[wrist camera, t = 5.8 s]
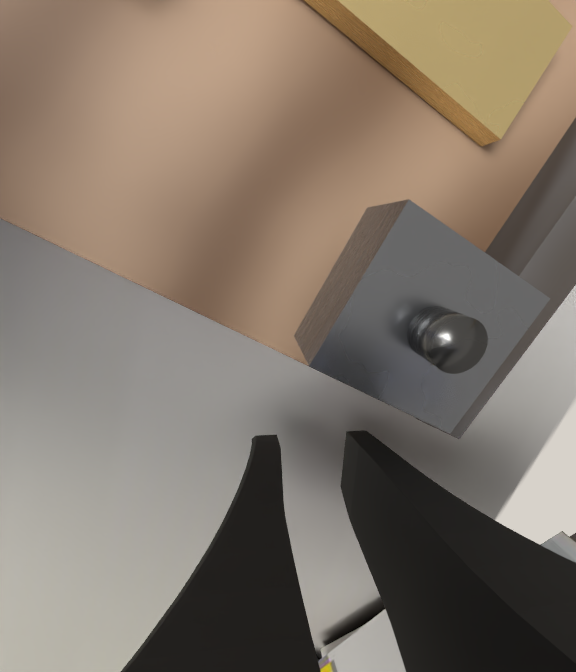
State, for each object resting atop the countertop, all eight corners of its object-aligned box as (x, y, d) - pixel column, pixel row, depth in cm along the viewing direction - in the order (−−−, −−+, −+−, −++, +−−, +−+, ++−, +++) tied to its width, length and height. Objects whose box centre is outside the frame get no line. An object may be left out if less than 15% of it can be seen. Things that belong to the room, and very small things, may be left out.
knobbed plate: (293, 335, 9) (318, 386, 6) (367, 207, 9) (437, 193, 6) (407, 392, 11) (476, 459, 7) (481, 283, 10) (594, 308, 7)
